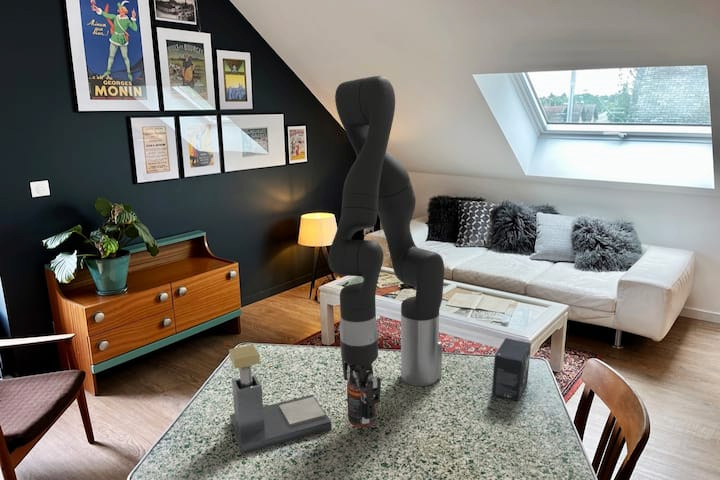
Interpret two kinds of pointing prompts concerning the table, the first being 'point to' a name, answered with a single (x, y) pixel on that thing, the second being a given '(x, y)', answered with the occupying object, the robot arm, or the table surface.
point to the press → (273, 418)
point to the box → (511, 369)
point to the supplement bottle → (357, 405)
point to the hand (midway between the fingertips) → (361, 409)
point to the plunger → (244, 363)
